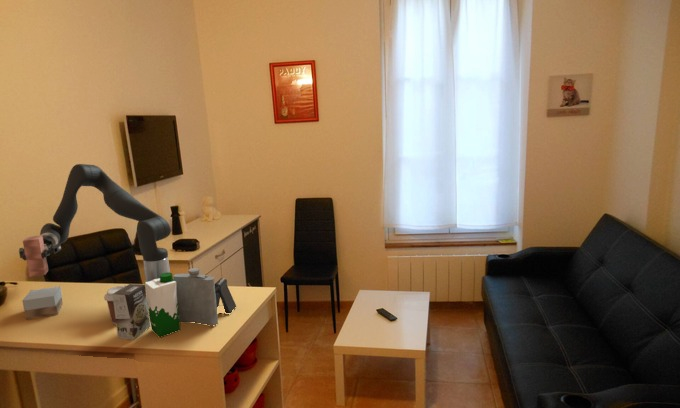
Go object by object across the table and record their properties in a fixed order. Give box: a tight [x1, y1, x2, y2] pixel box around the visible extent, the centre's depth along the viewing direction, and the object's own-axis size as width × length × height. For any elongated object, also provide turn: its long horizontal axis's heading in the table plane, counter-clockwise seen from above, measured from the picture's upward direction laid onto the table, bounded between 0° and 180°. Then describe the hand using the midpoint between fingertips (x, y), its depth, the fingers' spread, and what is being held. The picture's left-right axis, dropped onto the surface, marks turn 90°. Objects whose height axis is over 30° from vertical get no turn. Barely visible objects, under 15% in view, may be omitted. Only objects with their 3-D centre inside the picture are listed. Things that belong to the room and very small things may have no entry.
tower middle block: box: [21, 285, 63, 312], centre depth 165 cm, size 10×10×4 cm
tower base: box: [24, 295, 64, 321], centre depth 166 cm, size 10×10×4 cm
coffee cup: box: [103, 285, 126, 325], centre depth 157 cm, size 9×9×12 cm
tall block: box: [22, 235, 49, 278], centre depth 162 cm, size 5×5×14 cm
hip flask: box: [172, 267, 219, 327], centre depth 153 cm, size 16×4×20 cm, turn 73°
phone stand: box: [215, 277, 237, 314], centre depth 163 cm, size 9×6×12 cm, turn 82°
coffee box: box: [113, 283, 151, 341], centre depth 147 cm, size 9×6×16 cm
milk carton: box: [144, 272, 181, 338], centre depth 148 cm, size 9×9×20 cm
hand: (33, 256), depth 159 cm, fingers closed on tall block, 5 cm apart
